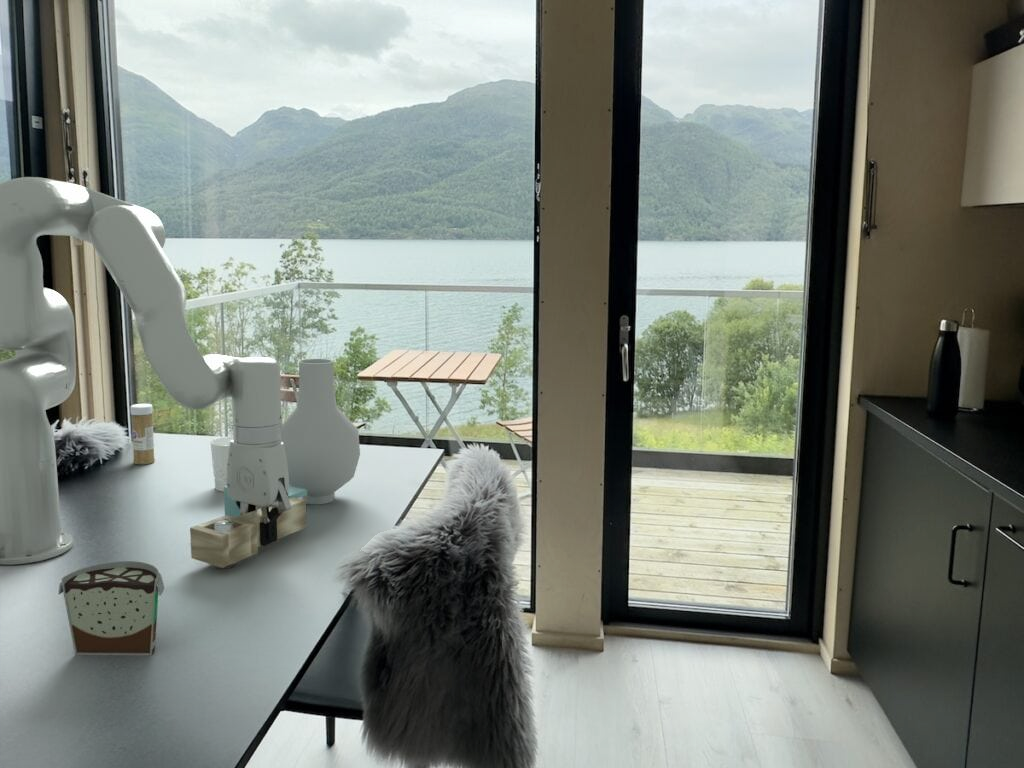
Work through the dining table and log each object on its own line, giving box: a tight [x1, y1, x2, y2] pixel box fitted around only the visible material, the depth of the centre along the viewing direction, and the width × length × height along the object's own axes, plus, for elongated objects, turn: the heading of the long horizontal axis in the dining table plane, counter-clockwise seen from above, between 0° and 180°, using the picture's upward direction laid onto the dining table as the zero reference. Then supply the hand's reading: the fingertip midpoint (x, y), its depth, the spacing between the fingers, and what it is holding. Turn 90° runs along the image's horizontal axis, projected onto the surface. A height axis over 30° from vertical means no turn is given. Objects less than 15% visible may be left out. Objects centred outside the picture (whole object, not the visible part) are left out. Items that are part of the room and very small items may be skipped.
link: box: [189, 497, 307, 568], centre depth 132 cm, size 20×7×5 cm, turn 151°
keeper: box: [223, 486, 307, 518], centre depth 146 cm, size 7×14×6 cm, turn 61°
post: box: [214, 520, 236, 570], centre depth 127 cm, size 3×3×7 cm
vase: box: [281, 358, 361, 505], centre depth 159 cm, size 17×16×28 cm
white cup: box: [210, 436, 233, 493], centre depth 166 cm, size 8×8×10 cm
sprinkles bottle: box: [129, 403, 156, 466], centre depth 183 cm, size 5×5×14 cm
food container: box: [58, 560, 165, 656], centre depth 102 cm, size 12×6×10 cm, turn 92°
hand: (260, 540), depth 134 cm, fingers closed on link, 3 cm apart
